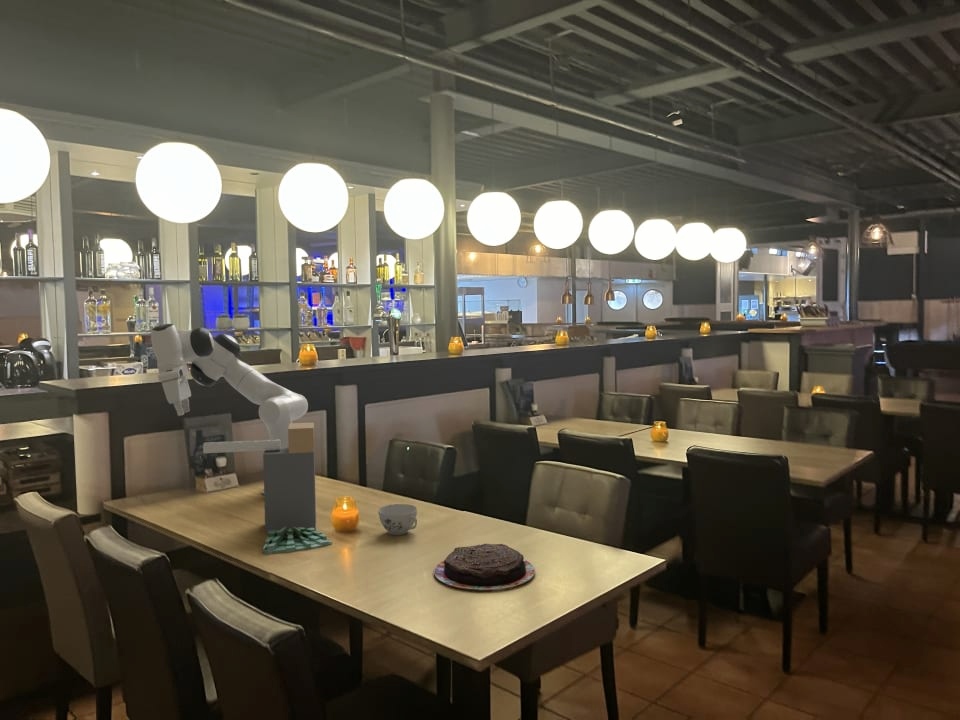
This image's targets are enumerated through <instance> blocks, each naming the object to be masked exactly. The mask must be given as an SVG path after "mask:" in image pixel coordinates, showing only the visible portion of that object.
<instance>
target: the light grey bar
mask: <svg viewBox="0 0 960 720" xmlns="http://www.w3.org/2000/svg"><path fill="white" fill-rule="evenodd" d="M280 448H281V446H280V439H278V440H270V439H259V440H254V439H252V440H236V441H235V440H233V441H232V440H231V441H207V442H204V443H203V444H202V449H203V450H202V451H203V454H218V453H238V452H243V453H244V452H264V451H267V450H280Z"/></svg>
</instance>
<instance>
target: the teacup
mask: <svg viewBox="0 0 960 720" xmlns="http://www.w3.org/2000/svg"><path fill="white" fill-rule="evenodd" d="M377 512H378V518H379V521H380V522H381V525H382V527H383V528H384V529H385V530H386V531H387V532H388V533H389V535H390V536H391V535H392V536H403V535H406V534H407V533H408V532H409V530H410V531H411V530H415V529H416V528H417V526H418V519H417V514H418V508H417V506H415V505H413V504H407V503H393V504H388V505H385V506H381V508H379V509H378V511H377Z"/></svg>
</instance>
